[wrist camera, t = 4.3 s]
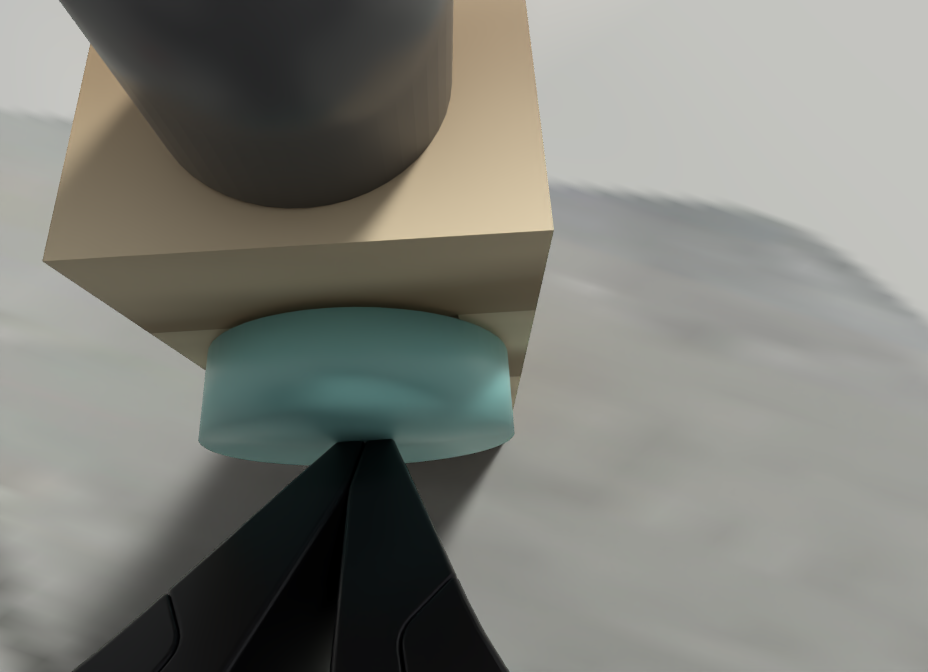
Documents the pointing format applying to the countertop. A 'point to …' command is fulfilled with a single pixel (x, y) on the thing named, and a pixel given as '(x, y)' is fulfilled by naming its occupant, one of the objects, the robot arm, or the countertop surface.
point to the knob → (355, 385)
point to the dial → (282, 88)
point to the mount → (320, 214)
